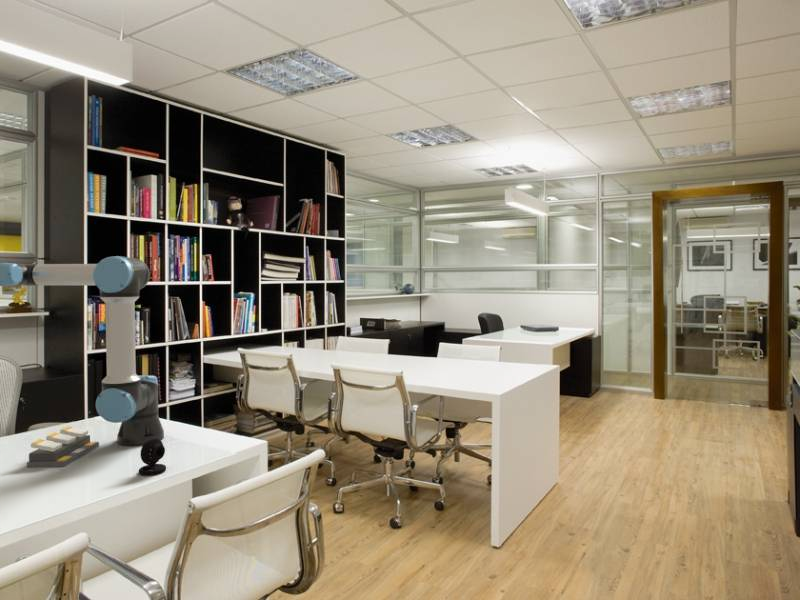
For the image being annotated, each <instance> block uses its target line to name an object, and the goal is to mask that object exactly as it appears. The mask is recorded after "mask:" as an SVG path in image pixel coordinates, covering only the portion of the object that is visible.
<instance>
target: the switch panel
mask: <svg viewBox="0 0 800 600" xmlns="http://www.w3.org/2000/svg"><path fill="white" fill-rule="evenodd" d="M69 436H70V435H69ZM74 437H76V436H74ZM56 443H58V442H56ZM99 447H100V441H91V435H89V434H87V435H85V436H83V437H76V439H75V441H73V442H71V443H69V444H64V443H62V447H61V448H60V449H58V450H56V451H54V452H52V451H47V450H42V449H37V448H36V449H35V450H34V451H30V453H28V461H27V462H26V467H27V468H64V467H66V466H68V465H69V464H71V463H73V462H75V461H76V460H78V459H80V458H81V457H83V456H86V454H88V453H90V452H92V451H93V450H95V449H97V448H99Z"/></svg>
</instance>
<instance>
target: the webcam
mask: <svg viewBox="0 0 800 600" xmlns="http://www.w3.org/2000/svg"><path fill="white" fill-rule="evenodd" d="M165 452H166V448H165V446H164V443H163V441H162V439H161V440H160V439H157V438H151V439H149V440H147V441H146V442H145V443H144V444H143V445H141V449H140V454H139V455H140V459H141V461H142V463H143V464H145V465H143V466H141V467H140V468H139V469H138V474H139V475H141V476H144V477H145V476H146V477H147V476H156V475H161V474H163V473H164V472H165V471H166V469H167V466H166V465H165V464H162V463H158V462H159V461H160V460H161V459H163V457H164V456H165Z"/></svg>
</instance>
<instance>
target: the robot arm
mask: <svg viewBox="0 0 800 600" xmlns="http://www.w3.org/2000/svg"><path fill="white" fill-rule="evenodd" d="M150 277H151V273H150V268H149V267H148V265H147V264H146V263H145V262H144V260H141V259H139V258H136V257H130V256H122V255H120V256H119V255H116V256H113V255H112V256H108V257H105V258H103V259H101V260H100V261H99V262H98V263H37V264H35V263H14V262H13V263H12V262H0V287H12V286H13V287H14V286H17V287H18V286H19V287H20V286H27V287H29V286H30V287H31V286H33V287H34V286H36V287H37V286H38V287H39V286H96V287H97V288H98V289H99V298H100V299H101V300H102V301H103V302H104V304H105V345H106V348H105V349H106V354H105V355H106V376H105V377H104V378H103V379H102V380H101V392H100V393H99V395H97V397H96V400H95V409H96V412H97V414H98V415H99V417H100V418H103V420H105V421H106V422H109V423H115V424H116V423H117V424H118V423H120V426H119V430H118V433H117V436H116V438H117V439H116V440H117V441H116V442H117V444H119V445H121V446H122V445H123V446H143V444H144V443H145V442H146V441H147V440H149V439H151V438H157V439H160V440H161V441H162V440H163V439H164V437H165V431H164V428H163V425H162V422H161V420H160V416H159V383H158V377H157V376H155V375H138V374H137V370H136V369H137V366H136V364H137V363H136V319H135V318H136V314H135V308H136V307H135V305H136V304H135V302H136V301H138V299H139V298H140V290H141V289H143V288H145V287H146V286H147V284H148V283H149V281H150Z"/></svg>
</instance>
